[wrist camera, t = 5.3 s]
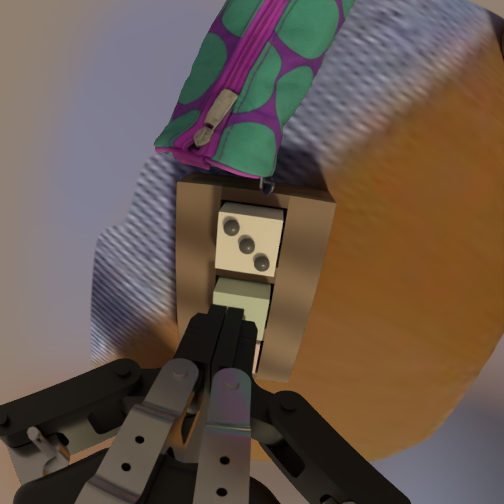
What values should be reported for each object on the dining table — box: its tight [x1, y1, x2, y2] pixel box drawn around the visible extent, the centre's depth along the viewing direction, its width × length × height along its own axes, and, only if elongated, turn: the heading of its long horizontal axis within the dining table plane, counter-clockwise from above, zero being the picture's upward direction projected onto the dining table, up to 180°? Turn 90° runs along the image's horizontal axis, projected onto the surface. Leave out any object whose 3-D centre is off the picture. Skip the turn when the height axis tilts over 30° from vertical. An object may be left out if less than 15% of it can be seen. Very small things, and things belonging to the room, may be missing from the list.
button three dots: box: [215, 202, 283, 277], centre depth 21 cm, size 4×4×3 cm
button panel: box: [176, 172, 337, 383], centre depth 27 cm, size 20×12×4 cm, turn 173°
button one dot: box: [213, 276, 271, 341], centre depth 24 cm, size 4×4×3 cm
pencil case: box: [154, 0, 355, 196], centre depth 15 cm, size 21×9×10 cm, turn 158°
